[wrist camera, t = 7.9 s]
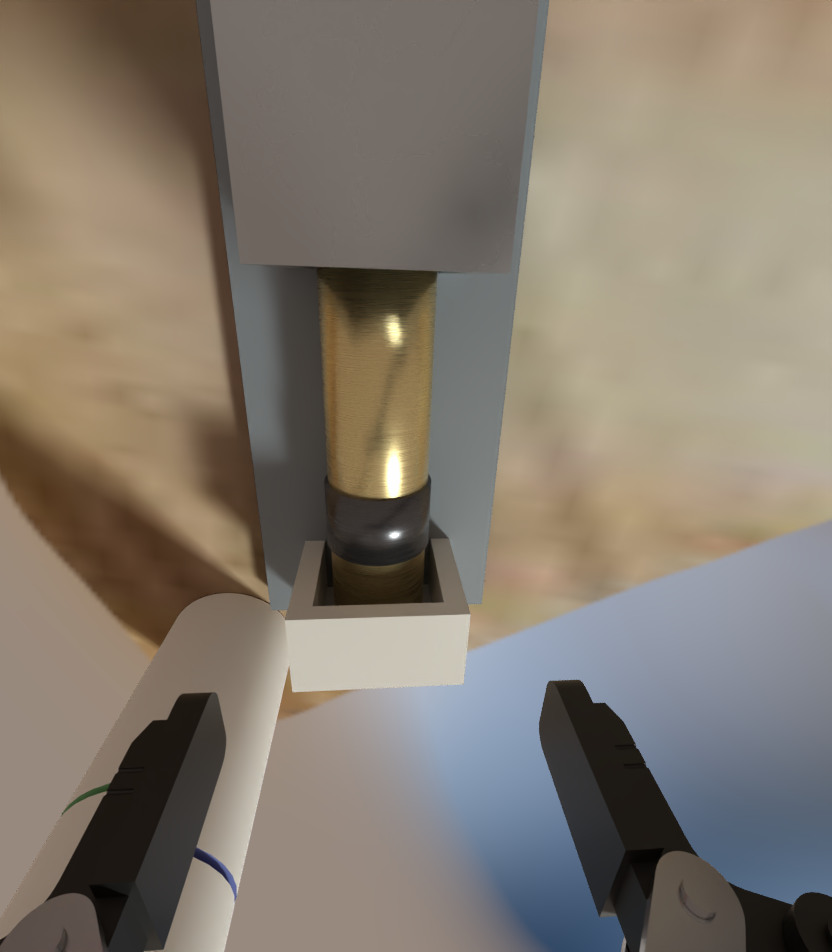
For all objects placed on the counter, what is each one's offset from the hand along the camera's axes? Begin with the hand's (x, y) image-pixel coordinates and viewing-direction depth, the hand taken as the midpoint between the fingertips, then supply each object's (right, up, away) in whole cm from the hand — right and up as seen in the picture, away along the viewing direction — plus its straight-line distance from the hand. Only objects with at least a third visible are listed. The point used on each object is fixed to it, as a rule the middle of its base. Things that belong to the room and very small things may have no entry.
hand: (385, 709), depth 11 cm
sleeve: (-1, +19, +6) cm, 20 cm away
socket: (-1, +1, +14) cm, 14 cm away
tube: (-1, +8, +10) cm, 13 cm away
